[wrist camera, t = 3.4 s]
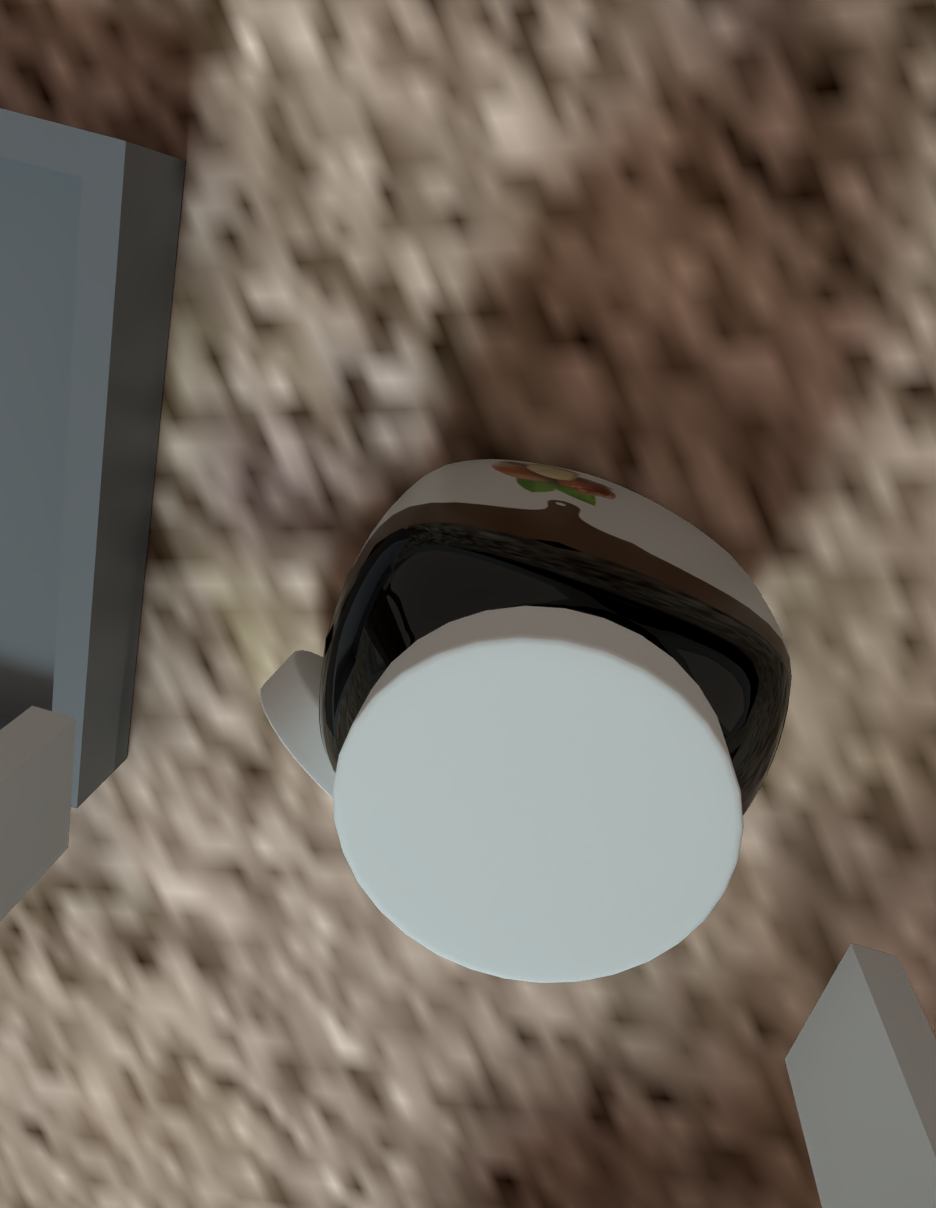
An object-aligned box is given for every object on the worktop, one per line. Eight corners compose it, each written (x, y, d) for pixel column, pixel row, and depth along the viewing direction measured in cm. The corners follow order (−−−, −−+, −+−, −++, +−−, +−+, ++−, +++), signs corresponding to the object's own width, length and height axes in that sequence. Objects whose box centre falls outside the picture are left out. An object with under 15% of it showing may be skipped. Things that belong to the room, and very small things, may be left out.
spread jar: (773, 529, 23) (939, 737, 12) (622, 839, 27) (644, 1200, 16) (369, 387, 23) (175, 468, 12) (281, 718, 27) (79, 996, 16)
